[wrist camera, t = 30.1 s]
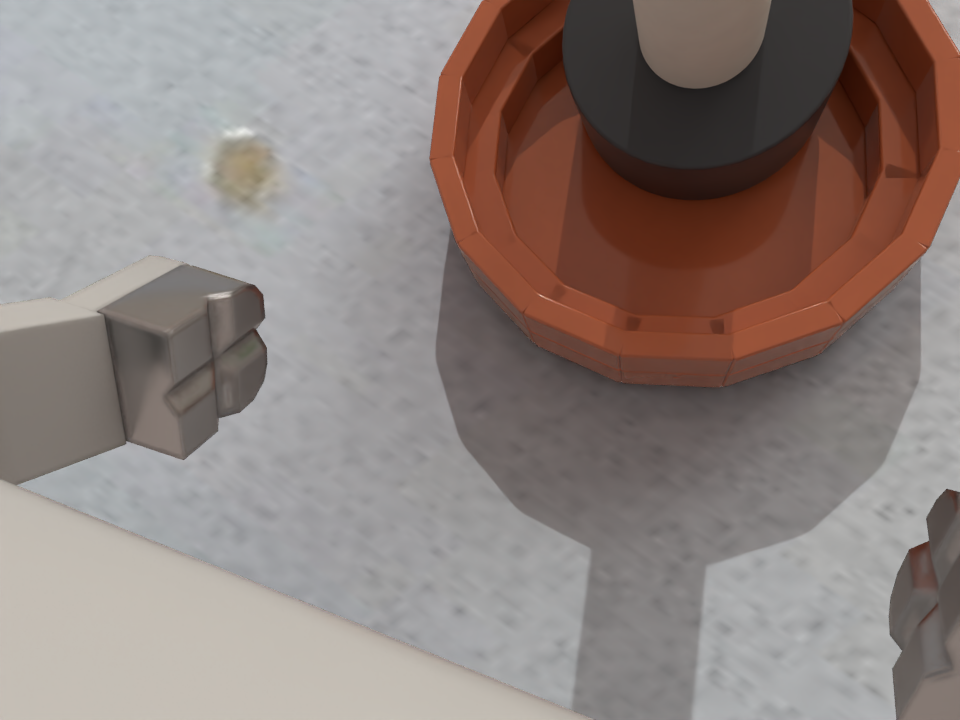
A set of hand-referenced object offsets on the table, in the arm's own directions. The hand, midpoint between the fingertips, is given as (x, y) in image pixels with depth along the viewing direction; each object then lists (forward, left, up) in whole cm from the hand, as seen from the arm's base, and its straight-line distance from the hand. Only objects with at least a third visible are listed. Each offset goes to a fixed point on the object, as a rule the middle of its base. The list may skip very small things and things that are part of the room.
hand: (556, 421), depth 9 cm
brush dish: (+9, +2, -10) cm, 13 cm away
